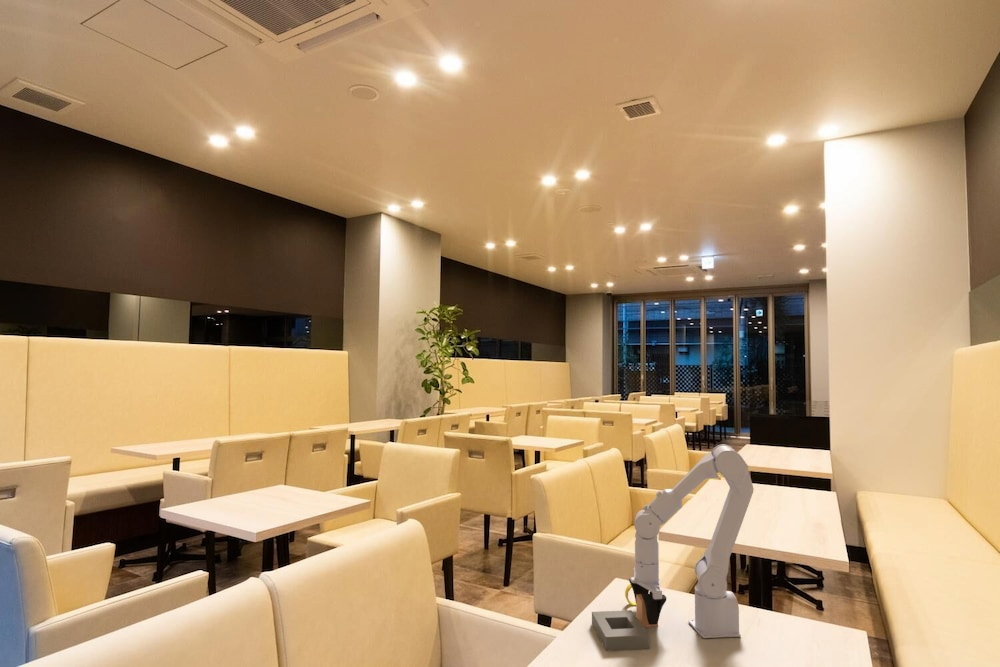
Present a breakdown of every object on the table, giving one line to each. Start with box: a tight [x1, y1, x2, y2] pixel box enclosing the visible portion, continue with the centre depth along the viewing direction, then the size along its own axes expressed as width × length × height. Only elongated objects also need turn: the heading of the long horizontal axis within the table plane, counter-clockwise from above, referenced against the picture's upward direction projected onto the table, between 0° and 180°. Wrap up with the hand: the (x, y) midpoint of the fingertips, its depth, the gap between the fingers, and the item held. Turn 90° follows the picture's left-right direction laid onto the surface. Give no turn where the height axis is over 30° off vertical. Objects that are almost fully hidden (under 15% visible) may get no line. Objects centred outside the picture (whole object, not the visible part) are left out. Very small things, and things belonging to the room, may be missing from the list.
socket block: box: [591, 609, 650, 652], centre depth 127 cm, size 10×12×3 cm
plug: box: [635, 594, 659, 627], centre depth 134 cm, size 4×4×6 cm
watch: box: [624, 583, 649, 607], centre depth 144 cm, size 6×3×6 cm, turn 94°
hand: (647, 616), depth 134 cm, fingers open, 7 cm apart
